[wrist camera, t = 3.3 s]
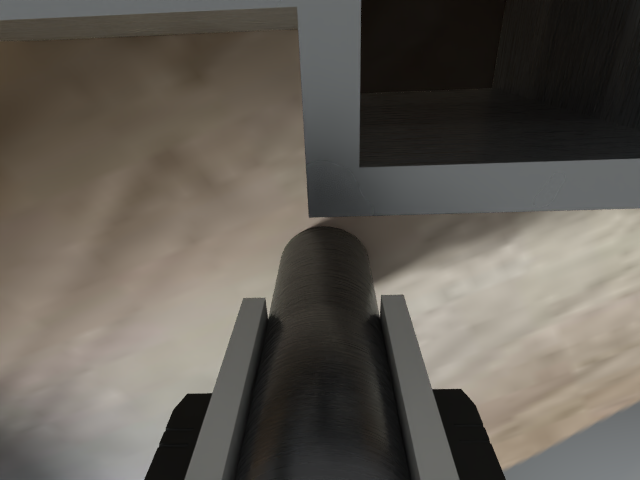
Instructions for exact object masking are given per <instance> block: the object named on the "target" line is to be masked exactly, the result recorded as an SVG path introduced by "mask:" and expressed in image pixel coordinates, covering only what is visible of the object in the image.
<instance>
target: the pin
mask: <svg viewBox="0 0 640 480" xmlns="http://www.w3.org/2000/svg"><path fill="white" fill-rule="evenodd" d="M234 480H411V477H410V472H409V467H408V462H407V457H406V451H405V446H404V441H403V436H402V431H401V425H400V420H399V415H398V410H397V404H396V399H395V394H394V389H393V384H392V378H391V373H390V368H389V363H388V358H387V352H386V347H385V342H384V337H383V332H382V326H381V321H380V316H379V311H378V305H377V300H376V295H375V290H374V285H373V279H372V274H371V269H370V264H369V259H368V255H367V252H366V250H365V248H364V246H363V245H362V244H361V242H360V241H359V240H358V239H357V238H356V237H354V236H353V235H352V234H350V233H348V232H346V231H344V230H341V229H338V228H333V227H316V228H311V229H308V230H305V231H303V232H301V233H299V234H298V235H296V236H295V237H294V238H293V239H291V241H290V242H289V243H288V244H287V246H286V247H285V249H284V251H283V253H282V257H281V261H280V266H279V270H278V275H277V280H276V285H275V289H274V294H273V299H272V303H271V308H270V313H269V318H268V322H267V327H266V332H265V337H264V341H263V346H262V351H261V356H260V360H259V365H258V370H257V375H256V379H255V384H254V389H253V394H252V398H251V403H250V408H249V413H248V417H247V422H246V427H245V432H244V436H243V441H242V446H241V451H240V455H239V460H238V465H237V470H236V474H235V479H234Z"/></svg>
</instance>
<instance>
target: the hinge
mask: <svg viewBox="0 0 640 480" xmlns="http://www.w3.org/2000/svg"><path fill="white" fill-rule="evenodd" d="M292 29H298V32H299V50H300V67H301V85H302V103H303V121H304V138H305V156H306V174H307V192H308V209H309V218H312V217H347V216H383V215H418V214H454V213H489V212H525V211H560V210H596V209H631V208H640V0H506V3H505V9H504V15H503V22H502V28H501V34H500V40H499V46H498V53H497V59H496V65H495V71H494V77H493V84H492V88H484V89H458V90H432V91H406V92H380V93H360V50H361V0H0V41H41V40H64V39H87V38H110V37H132V36H155V35H178V34H201V33H224V32H246V31H269V30H292Z"/></svg>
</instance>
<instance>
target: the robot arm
mask: <svg viewBox="0 0 640 480" xmlns="http://www.w3.org/2000/svg"><path fill="white" fill-rule="evenodd" d="M380 321H381V326H382V332H383V337H384V342H385V347H386V352H387V358H388V363H389V368H390V373H391V378H392V384H393V389H394V394H395V399H396V404H397V410H398V415H399V420H400V425H401V431H402V436H403V441H404V446H405V451H406V457H407V462H408V467H409V472H410V477H411V480H506V479H505V476H504V474H503V472H502V469H501V467H500V464H499V462H498V459H497V457H496V454H495V452H494V449H493V447H492V445H491V444H490V441H489V437H488V435H487V432H486V430H485V428H484V427H483V423H482V420H481V418H480V415H479V413H478V410H477V408H476V405H475V404H474V403H473V402H472V401H471V400H470V398H469V397H468V396H467V395H466V394H465V393H464V392H463V391H462V389H432V388H431V384H430V381H429V378H428V374H427V371H426V368H425V364H424V361H423V358H422V354H421V351H420V348H419V344H418V341H417V338H416V335H415V331H414V328H413V325H412V321H411V318H410V315H409V311H408V308H407V305H406V301H405V298H404V295H381V309H380ZM267 322H268V315H267V308H266V300H265V298H243V301H242V304H241V307H240V310H239V313H238V316H237V319H236V322H235V326H234V329H233V332H232V335H231V338H230V341H229V344H228V347H227V350H226V353H225V356H224V359H223V363H222V366H221V369H220V372H219V375H218V378H217V381H216V384H215V387H214V390H213V393H207V394H187V395H186V396H185V397H184V398H183V399H182V401H181V402H180V403H179V404H178V405H177V406H176V407H175V409H174V410H173V412H172V415H171V417H170V419H169V422H168V424H167V427H166V431H165V432H164V434H163V436H162V439H161V441H160V443H159V448H157V451H156V453H155V455H154V458H153V460H152V463H151V465H150V467H149V470H148V472H147V475H146V477H145V479H144V480H234V479H235V474H236V470H237V465H238V460H239V455H240V451H241V446H242V441H243V436H244V432H245V427H246V422H247V417H248V413H249V408H250V403H251V398H252V394H253V389H254V384H255V379H256V375H257V370H258V365H259V360H260V356H261V351H262V346H263V341H264V337H265V332H266V327H267Z"/></svg>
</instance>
